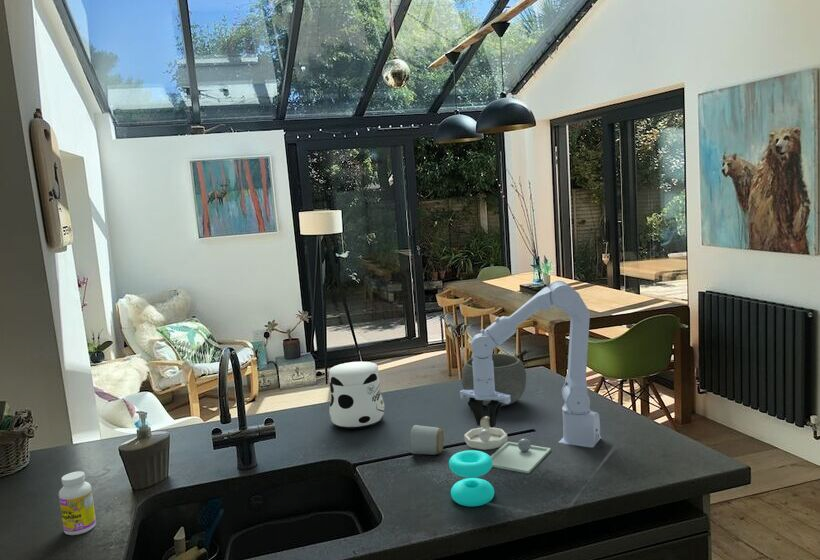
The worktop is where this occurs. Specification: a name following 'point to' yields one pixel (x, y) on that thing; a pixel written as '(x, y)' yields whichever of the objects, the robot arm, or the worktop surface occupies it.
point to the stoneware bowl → (495, 441)
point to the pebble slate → (524, 444)
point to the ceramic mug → (426, 440)
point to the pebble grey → (484, 435)
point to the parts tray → (518, 457)
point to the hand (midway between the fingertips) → (486, 425)
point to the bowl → (500, 376)
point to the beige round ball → (485, 422)
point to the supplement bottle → (76, 504)
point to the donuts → (471, 488)
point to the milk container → (355, 395)
